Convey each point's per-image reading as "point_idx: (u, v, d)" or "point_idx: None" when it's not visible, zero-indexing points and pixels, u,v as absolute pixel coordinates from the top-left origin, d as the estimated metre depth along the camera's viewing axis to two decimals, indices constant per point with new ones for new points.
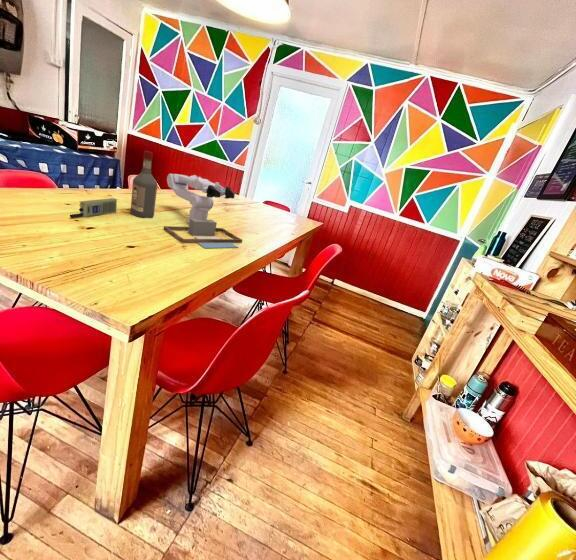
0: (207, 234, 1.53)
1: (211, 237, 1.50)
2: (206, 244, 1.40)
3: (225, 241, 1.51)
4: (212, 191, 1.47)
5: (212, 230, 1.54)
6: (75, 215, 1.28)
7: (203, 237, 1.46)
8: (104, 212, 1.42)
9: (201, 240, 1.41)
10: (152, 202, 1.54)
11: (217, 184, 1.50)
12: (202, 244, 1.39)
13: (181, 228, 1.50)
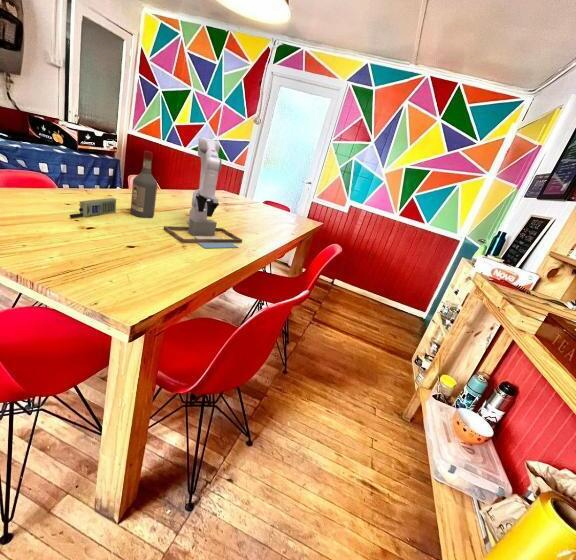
0: (207, 234, 1.53)
1: (211, 237, 1.50)
2: (206, 244, 1.40)
3: (225, 241, 1.51)
4: None
5: (212, 230, 1.54)
6: (75, 215, 1.28)
7: (203, 237, 1.46)
8: (103, 211, 1.42)
9: (201, 240, 1.41)
10: (152, 202, 1.54)
11: None
12: (202, 244, 1.39)
13: (181, 228, 1.50)
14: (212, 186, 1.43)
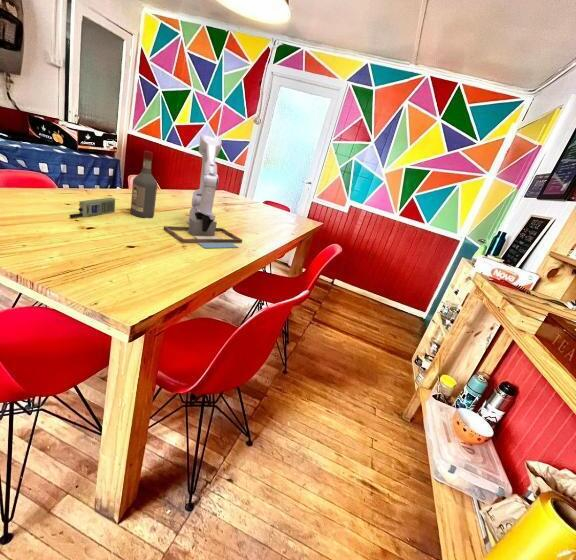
0: (207, 234, 1.53)
1: (211, 237, 1.50)
2: (206, 244, 1.40)
3: (225, 241, 1.51)
4: None
5: (212, 230, 1.54)
6: (75, 215, 1.28)
7: (202, 237, 1.47)
8: (103, 211, 1.42)
9: (201, 240, 1.41)
10: (152, 202, 1.54)
11: (199, 211, 1.47)
12: (202, 244, 1.39)
13: (181, 228, 1.50)
14: (209, 203, 1.46)
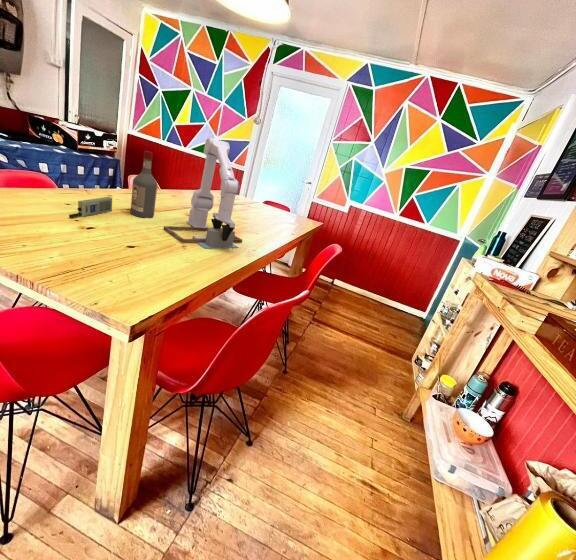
0: (225, 244, 1.44)
1: None
2: None
3: None
4: None
5: (230, 240, 1.45)
6: (74, 215, 1.28)
7: (201, 236, 1.47)
8: (101, 211, 1.42)
9: (201, 240, 1.41)
10: (152, 202, 1.54)
11: None
12: (202, 244, 1.39)
13: (181, 228, 1.50)
14: (228, 210, 1.36)
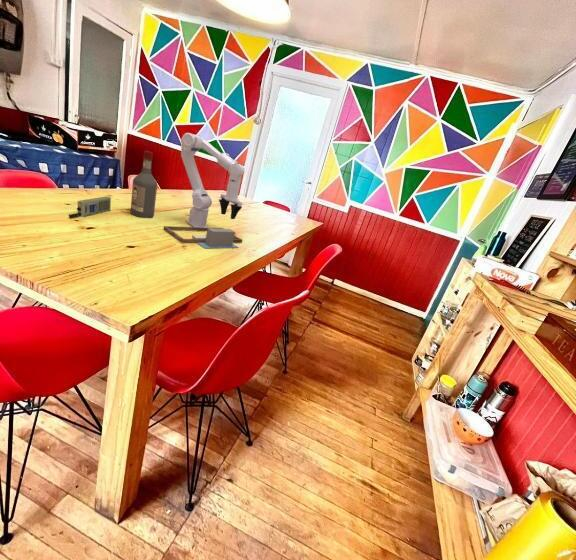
0: (225, 244, 1.44)
1: None
2: None
3: None
4: None
5: (230, 240, 1.45)
6: (74, 215, 1.28)
7: (201, 236, 1.47)
8: (99, 210, 1.42)
9: (201, 240, 1.41)
10: (152, 202, 1.54)
11: (226, 199, 1.55)
12: (202, 244, 1.39)
13: (181, 228, 1.50)
14: (236, 191, 1.54)
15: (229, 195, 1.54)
